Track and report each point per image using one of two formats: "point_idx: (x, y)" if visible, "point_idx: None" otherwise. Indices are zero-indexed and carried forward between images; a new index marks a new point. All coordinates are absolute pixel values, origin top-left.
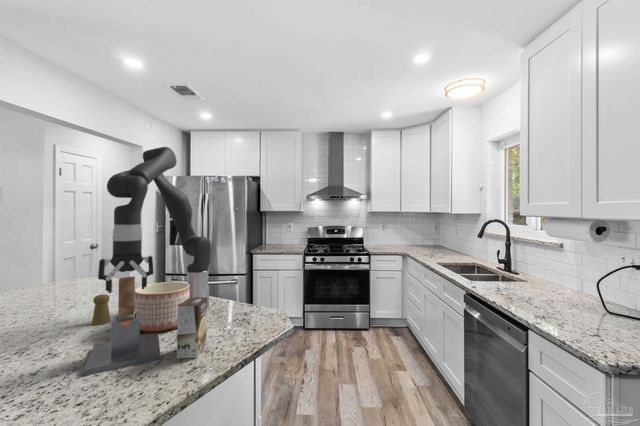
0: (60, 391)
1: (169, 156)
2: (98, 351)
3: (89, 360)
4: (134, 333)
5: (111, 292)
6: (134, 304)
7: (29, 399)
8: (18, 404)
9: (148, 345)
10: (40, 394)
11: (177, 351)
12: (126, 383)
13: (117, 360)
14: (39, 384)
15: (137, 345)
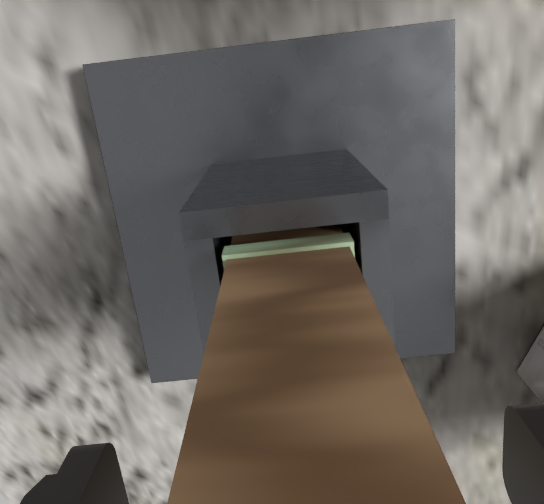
0: (117, 450)
1: None
2: (146, 197)
3: (139, 294)
4: None
5: (124, 490)
6: (360, 274)
7: (38, 461)
8: (21, 477)
9: (398, 227)
10: (58, 444)
11: (535, 392)
12: None
13: None
14: (13, 372)
15: None
